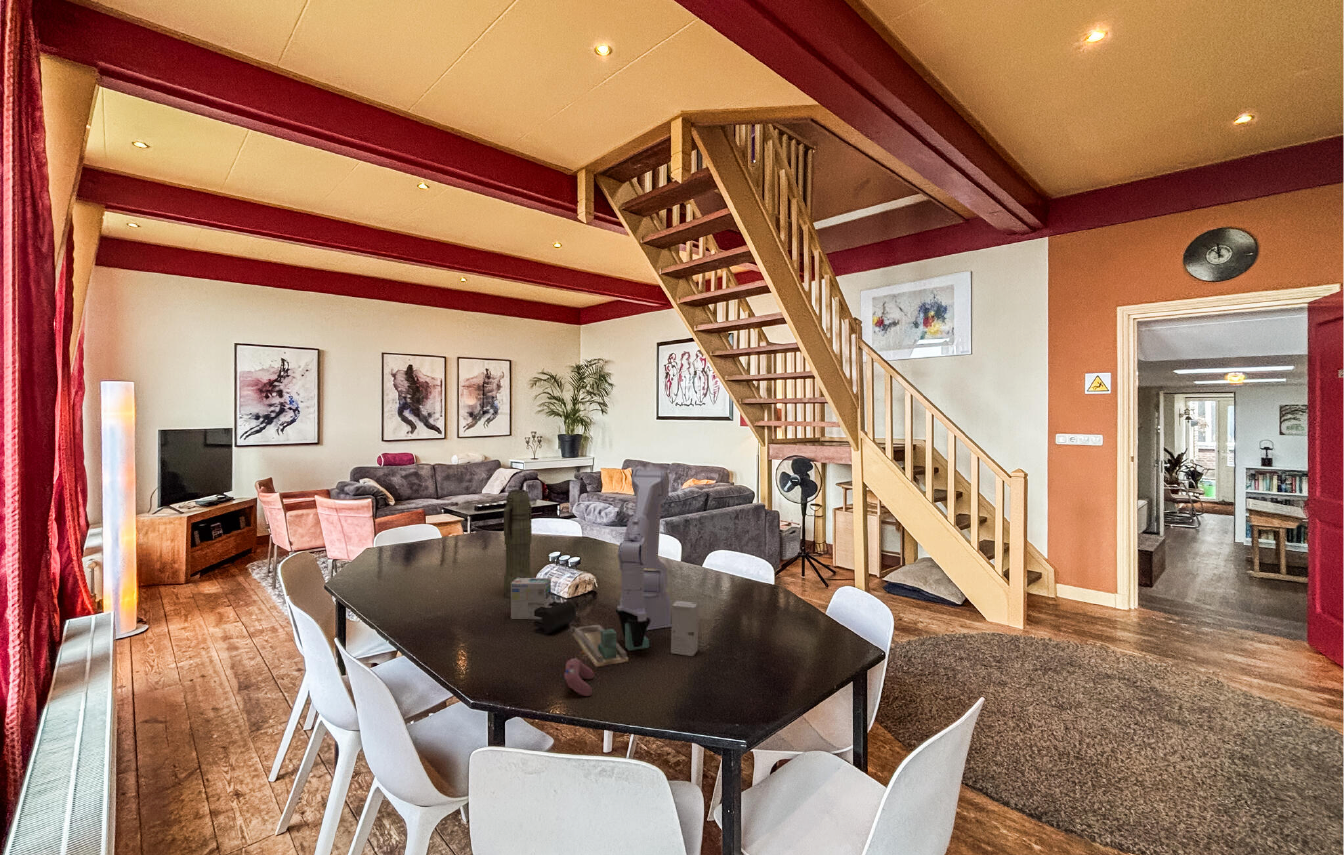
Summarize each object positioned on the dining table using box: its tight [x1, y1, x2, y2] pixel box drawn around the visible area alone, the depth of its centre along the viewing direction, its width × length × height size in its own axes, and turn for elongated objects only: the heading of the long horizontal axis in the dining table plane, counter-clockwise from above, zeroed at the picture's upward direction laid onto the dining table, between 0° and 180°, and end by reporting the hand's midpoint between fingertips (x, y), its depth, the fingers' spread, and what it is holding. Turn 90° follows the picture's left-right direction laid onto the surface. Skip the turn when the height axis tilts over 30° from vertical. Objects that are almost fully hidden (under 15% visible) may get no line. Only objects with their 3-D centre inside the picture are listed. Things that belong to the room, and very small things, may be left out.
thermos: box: [503, 489, 533, 599], centre depth 200 cm, size 9×12×35 cm
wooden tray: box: [572, 624, 629, 668], centre depth 152 cm, size 8×22×7 cm, turn 24°
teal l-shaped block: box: [624, 623, 650, 651], centre depth 153 cm, size 5×3×6 cm, turn 114°
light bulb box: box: [510, 577, 552, 620], centre depth 178 cm, size 11×7×11 cm, turn 88°
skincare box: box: [670, 600, 700, 657], centre depth 149 cm, size 6×4×12 cm
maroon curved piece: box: [564, 657, 595, 697], centre depth 129 cm, size 10×5×7 cm, turn 5°
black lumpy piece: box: [533, 600, 577, 635], centre depth 167 cm, size 10×7×7 cm
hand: (632, 641), depth 152 cm, fingers open, 7 cm apart
